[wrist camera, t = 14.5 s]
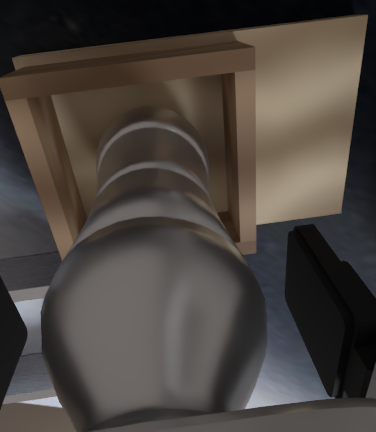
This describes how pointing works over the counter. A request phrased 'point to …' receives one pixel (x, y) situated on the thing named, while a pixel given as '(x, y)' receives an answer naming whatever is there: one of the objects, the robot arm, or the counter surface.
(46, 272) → the holder
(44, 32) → the counter surface
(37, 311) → the counter surface
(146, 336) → the plastic bottle
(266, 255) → the counter surface
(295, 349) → the counter surface
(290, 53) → the wooden tray
